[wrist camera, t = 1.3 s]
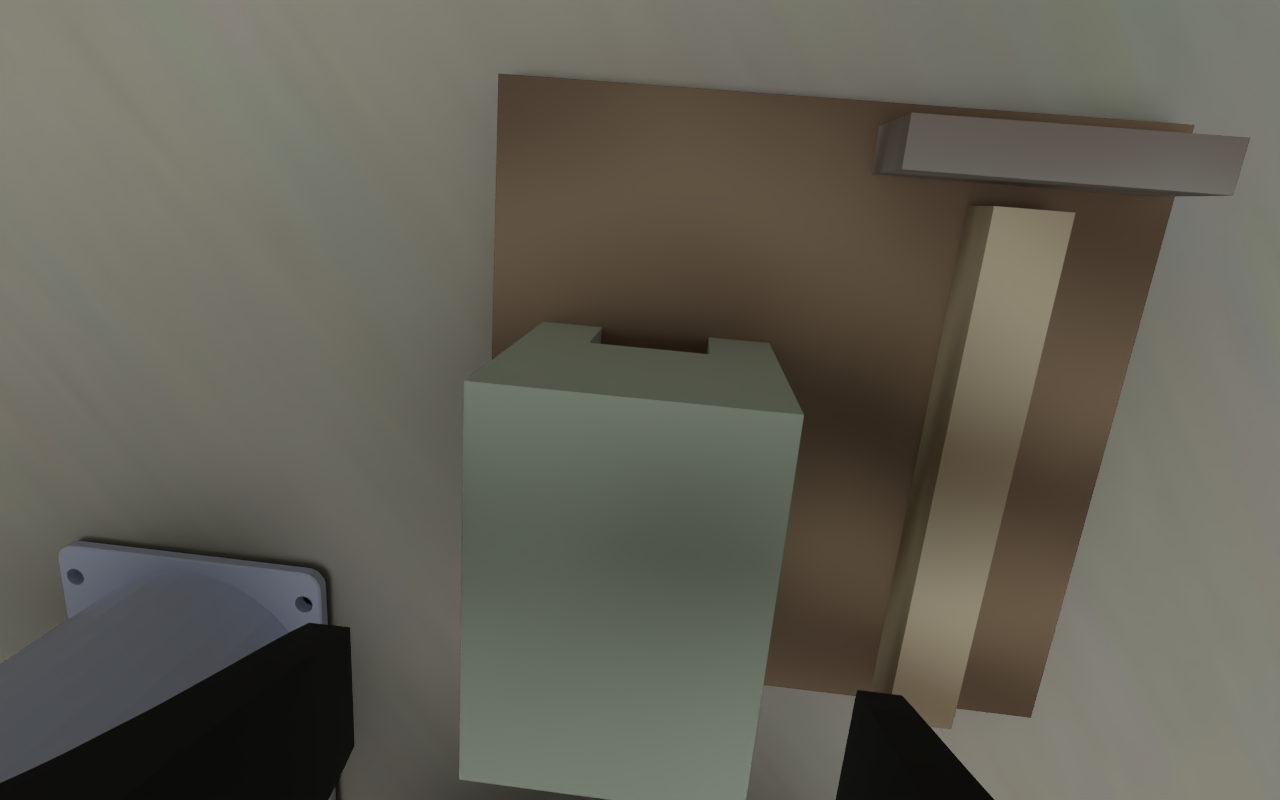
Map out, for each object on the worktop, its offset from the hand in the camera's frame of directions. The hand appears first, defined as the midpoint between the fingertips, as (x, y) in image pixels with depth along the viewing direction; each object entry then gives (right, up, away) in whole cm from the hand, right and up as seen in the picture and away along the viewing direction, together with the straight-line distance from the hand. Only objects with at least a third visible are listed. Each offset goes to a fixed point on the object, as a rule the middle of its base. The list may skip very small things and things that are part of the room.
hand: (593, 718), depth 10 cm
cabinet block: (+1, +2, +8) cm, 9 cm away
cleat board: (+4, +4, +8) cm, 10 cm away
